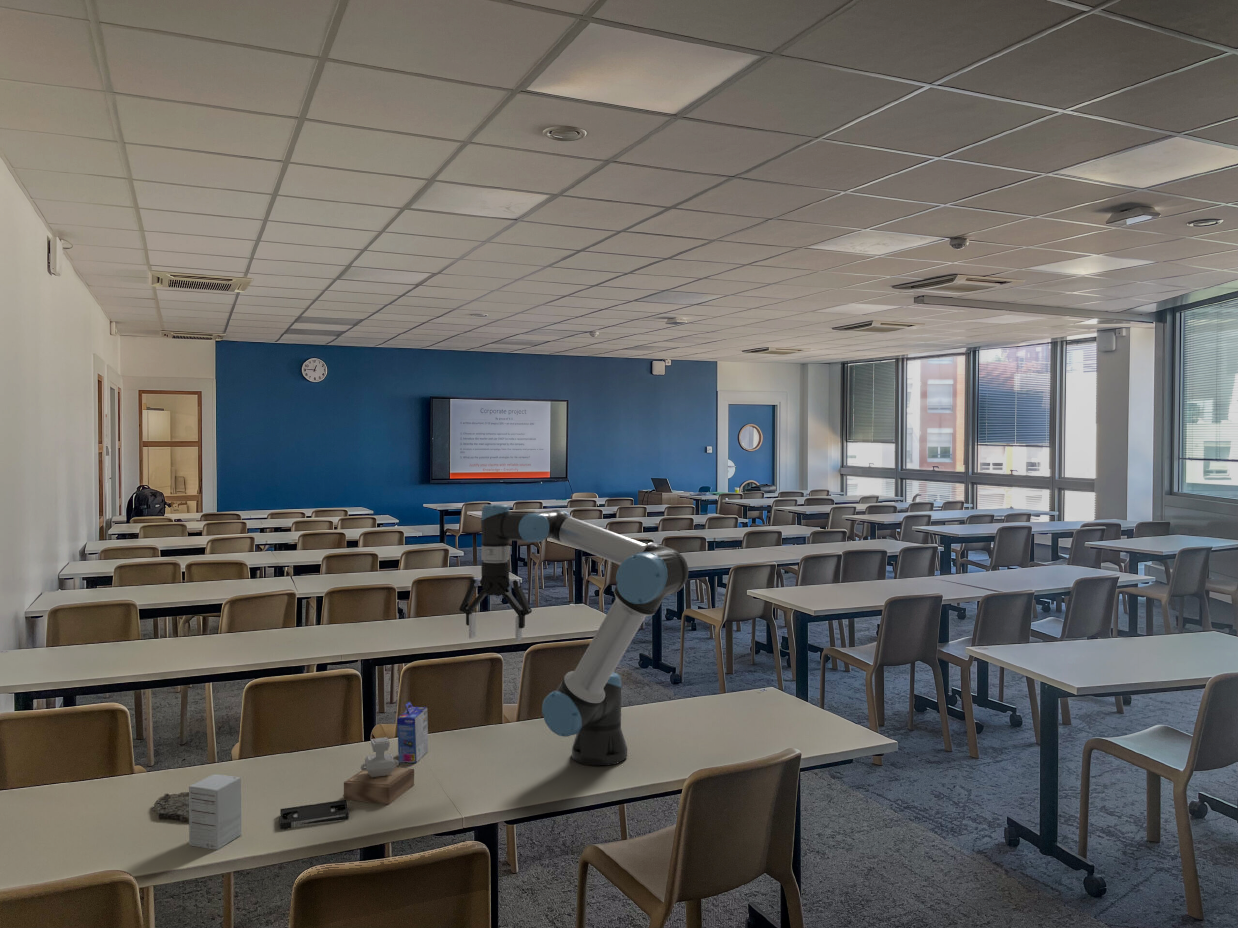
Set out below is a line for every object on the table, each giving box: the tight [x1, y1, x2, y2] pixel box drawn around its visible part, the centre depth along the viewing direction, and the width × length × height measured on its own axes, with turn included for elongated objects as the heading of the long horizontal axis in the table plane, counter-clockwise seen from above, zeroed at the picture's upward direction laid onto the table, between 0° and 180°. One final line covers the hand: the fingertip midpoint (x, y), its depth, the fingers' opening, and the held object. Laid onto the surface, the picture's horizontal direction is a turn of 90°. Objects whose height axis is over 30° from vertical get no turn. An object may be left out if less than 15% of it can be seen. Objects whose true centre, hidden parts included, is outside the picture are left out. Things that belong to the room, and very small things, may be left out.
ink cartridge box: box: [396, 701, 429, 764], centre depth 228 cm, size 10×6×14 cm, turn 174°
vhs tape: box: [279, 799, 349, 831], centre depth 189 cm, size 14×8×2 cm, turn 112°
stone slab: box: [151, 791, 189, 824], centre depth 193 cm, size 12×17×3 cm
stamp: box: [360, 736, 400, 777], centre depth 203 cm, size 9×7×8 cm
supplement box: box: [188, 773, 242, 851], centre depth 177 cm, size 7×7×13 cm
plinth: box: [343, 766, 415, 805], centre depth 203 cm, size 12×12×4 cm
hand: (495, 638), depth 229 cm, fingers open, 13 cm apart
